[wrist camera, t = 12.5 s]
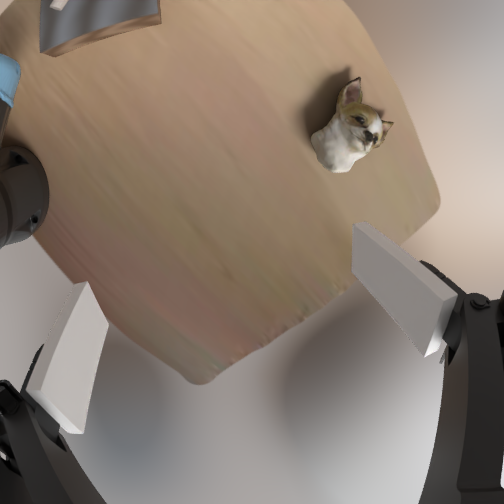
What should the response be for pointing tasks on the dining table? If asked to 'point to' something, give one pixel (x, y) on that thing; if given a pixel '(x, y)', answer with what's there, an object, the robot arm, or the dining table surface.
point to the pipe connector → (58, 4)
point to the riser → (92, 22)
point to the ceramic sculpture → (349, 131)
